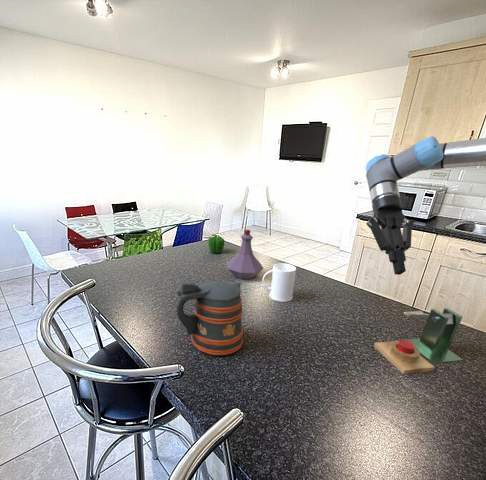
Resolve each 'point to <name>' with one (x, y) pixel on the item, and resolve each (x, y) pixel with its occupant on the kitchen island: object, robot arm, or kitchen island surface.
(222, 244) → the bell pepper
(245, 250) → the flask
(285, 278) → the mug
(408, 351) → the button
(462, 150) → the robot arm
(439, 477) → the kitchen island surface
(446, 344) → the bracket
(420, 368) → the button block
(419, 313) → the lever
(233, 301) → the beer stein
